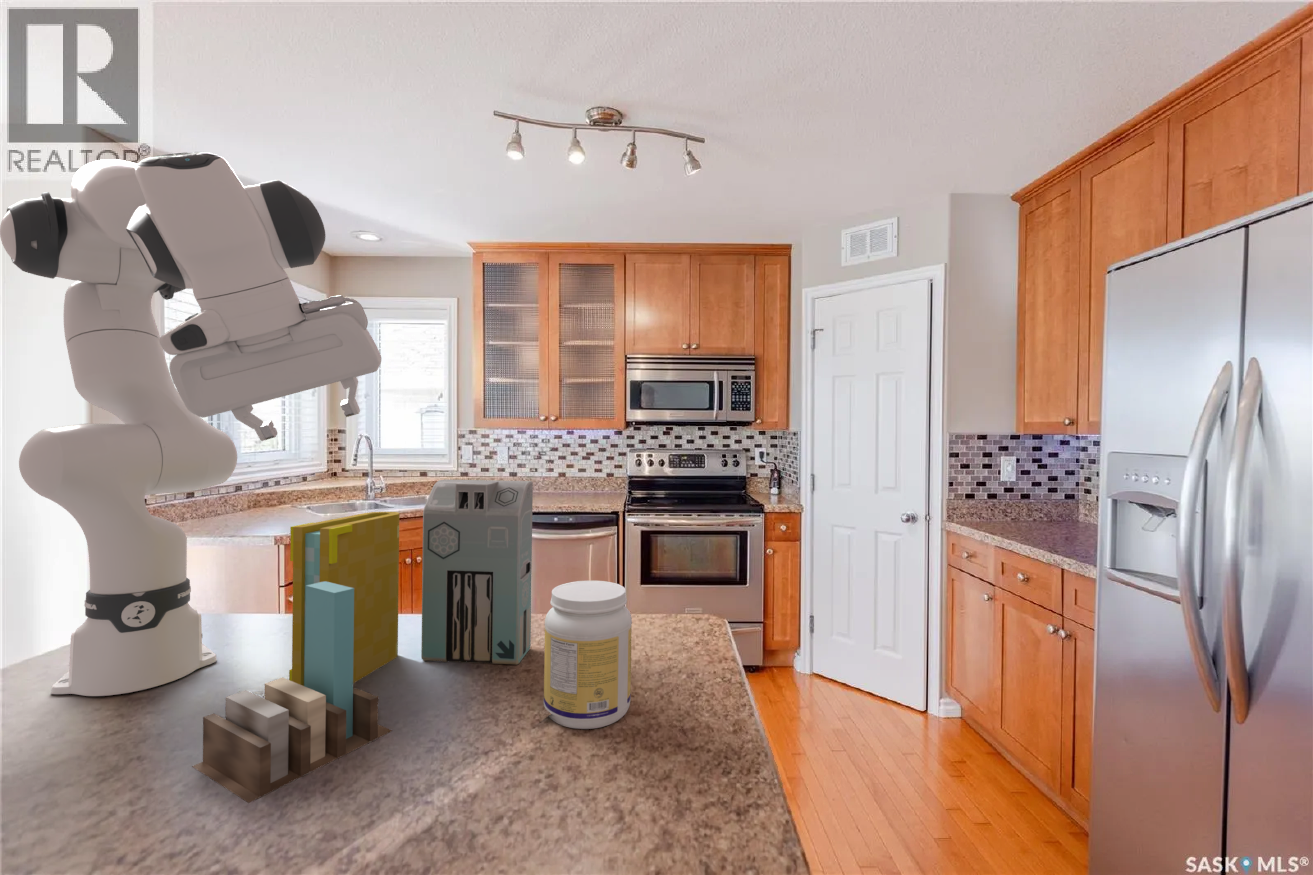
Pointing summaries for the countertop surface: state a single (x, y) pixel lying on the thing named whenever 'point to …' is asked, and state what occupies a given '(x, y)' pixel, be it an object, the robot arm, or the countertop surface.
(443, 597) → the device
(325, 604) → the tall sheet
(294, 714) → the block
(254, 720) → the offcut front
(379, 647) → the book
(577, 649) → the supplement tub
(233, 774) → the rack
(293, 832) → the countertop surface
